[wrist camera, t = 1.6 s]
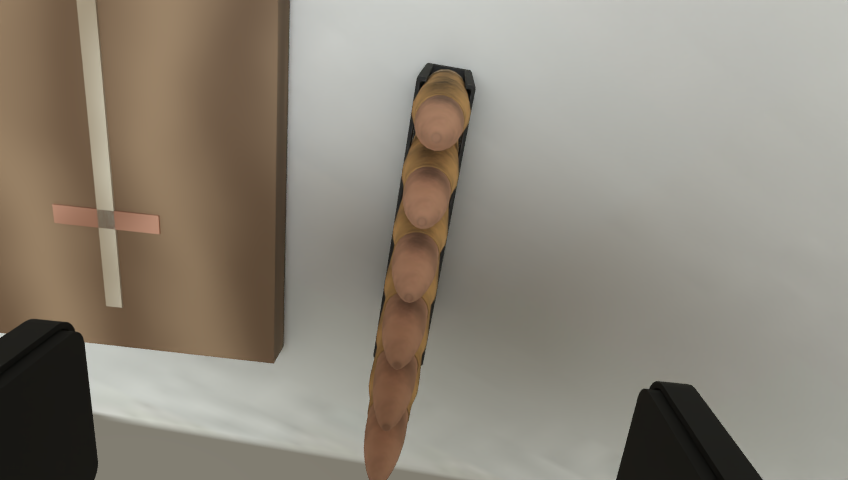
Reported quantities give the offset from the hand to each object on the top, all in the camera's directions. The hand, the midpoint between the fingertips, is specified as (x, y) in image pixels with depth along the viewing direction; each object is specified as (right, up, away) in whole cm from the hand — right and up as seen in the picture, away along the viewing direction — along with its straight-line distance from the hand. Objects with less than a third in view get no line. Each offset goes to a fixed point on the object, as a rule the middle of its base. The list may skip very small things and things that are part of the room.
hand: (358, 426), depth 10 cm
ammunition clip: (+1, +5, +15) cm, 16 cm away
